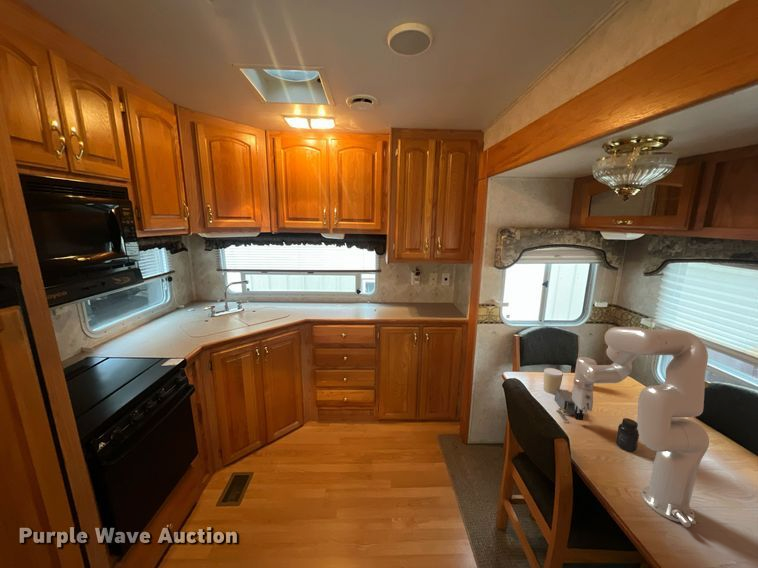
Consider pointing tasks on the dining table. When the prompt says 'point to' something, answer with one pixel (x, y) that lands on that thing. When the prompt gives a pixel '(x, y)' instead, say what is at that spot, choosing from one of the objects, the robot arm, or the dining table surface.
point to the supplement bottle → (627, 435)
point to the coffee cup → (552, 380)
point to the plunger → (569, 408)
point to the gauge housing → (562, 402)
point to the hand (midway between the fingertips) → (578, 418)
